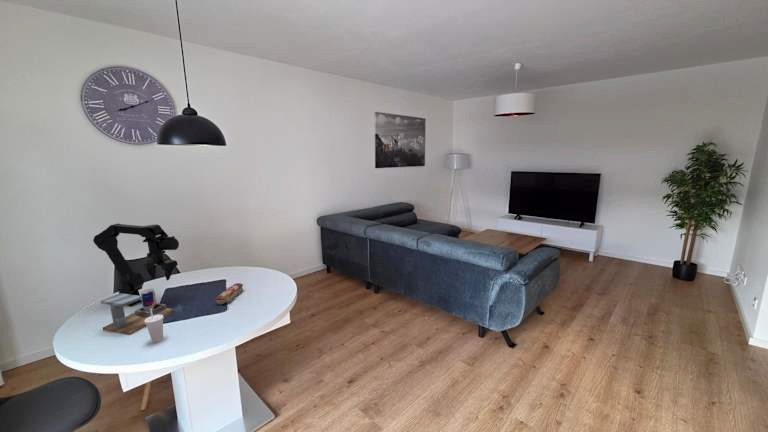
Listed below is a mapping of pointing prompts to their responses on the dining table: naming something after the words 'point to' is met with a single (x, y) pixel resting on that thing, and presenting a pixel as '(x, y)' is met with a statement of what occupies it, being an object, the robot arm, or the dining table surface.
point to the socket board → (133, 320)
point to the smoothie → (155, 326)
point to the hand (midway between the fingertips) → (160, 279)
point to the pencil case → (229, 293)
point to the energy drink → (149, 299)
